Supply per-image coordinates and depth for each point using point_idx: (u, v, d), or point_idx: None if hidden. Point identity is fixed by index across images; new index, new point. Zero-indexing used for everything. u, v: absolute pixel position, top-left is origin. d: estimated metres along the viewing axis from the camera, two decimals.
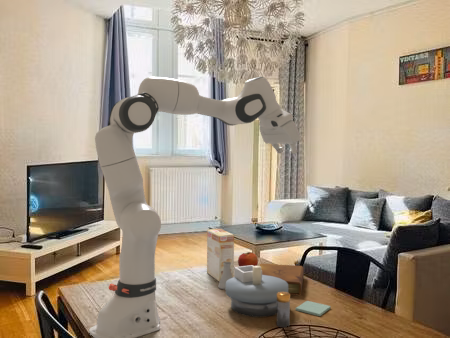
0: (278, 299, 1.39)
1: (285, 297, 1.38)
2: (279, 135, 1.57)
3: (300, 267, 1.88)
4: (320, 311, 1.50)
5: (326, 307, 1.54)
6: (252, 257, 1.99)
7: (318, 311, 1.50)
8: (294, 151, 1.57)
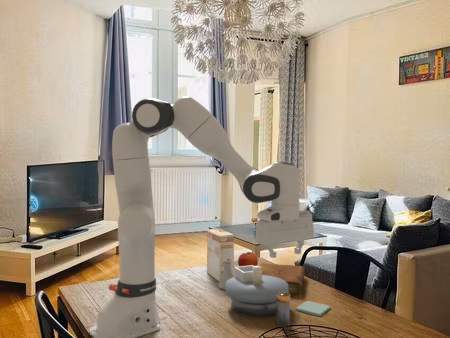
0: (278, 299, 1.39)
1: (285, 297, 1.38)
2: None
3: (300, 267, 1.88)
4: (320, 311, 1.50)
5: (326, 307, 1.54)
6: (252, 257, 1.99)
7: (318, 311, 1.50)
8: (270, 254, 1.38)
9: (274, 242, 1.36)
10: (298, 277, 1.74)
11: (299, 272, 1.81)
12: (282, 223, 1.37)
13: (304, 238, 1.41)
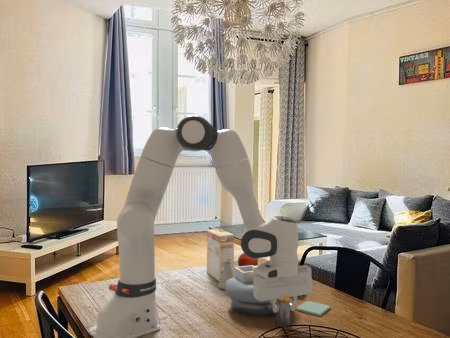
0: (278, 299, 1.39)
1: (285, 297, 1.38)
2: None
3: None
4: (320, 311, 1.50)
5: (326, 307, 1.54)
6: None
7: (318, 311, 1.50)
8: (273, 309, 1.39)
9: (271, 298, 1.37)
10: None
11: None
12: (280, 279, 1.37)
13: (302, 293, 1.41)
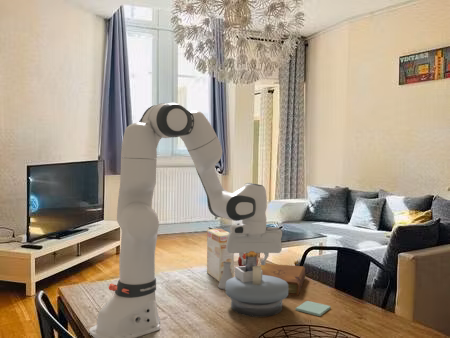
0: (246, 254, 1.61)
1: (251, 252, 1.60)
2: None
3: (301, 267, 1.88)
4: (320, 311, 1.50)
5: (326, 307, 1.54)
6: None
7: (318, 311, 1.50)
8: (242, 262, 1.62)
9: (239, 251, 1.60)
10: (297, 277, 1.74)
11: (299, 272, 1.80)
12: (247, 236, 1.59)
13: (271, 251, 1.61)
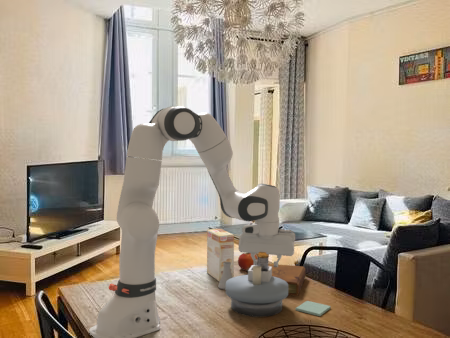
0: (257, 254, 1.61)
1: (260, 253, 1.59)
2: None
3: (301, 268, 1.87)
4: (320, 311, 1.50)
5: (326, 307, 1.54)
6: None
7: (318, 311, 1.50)
8: None
9: (251, 251, 1.60)
10: (297, 277, 1.74)
11: (299, 272, 1.80)
12: (258, 237, 1.59)
13: (282, 254, 1.58)
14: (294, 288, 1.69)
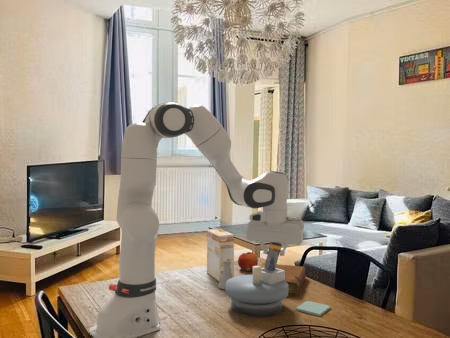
0: None
1: (272, 245, 1.55)
2: None
3: (302, 268, 1.87)
4: (320, 311, 1.50)
5: (326, 307, 1.54)
6: (252, 257, 1.99)
7: (318, 311, 1.50)
8: None
9: (258, 240, 1.58)
10: (297, 277, 1.74)
11: (299, 272, 1.80)
12: (266, 224, 1.56)
13: (290, 242, 1.54)
14: (294, 288, 1.69)
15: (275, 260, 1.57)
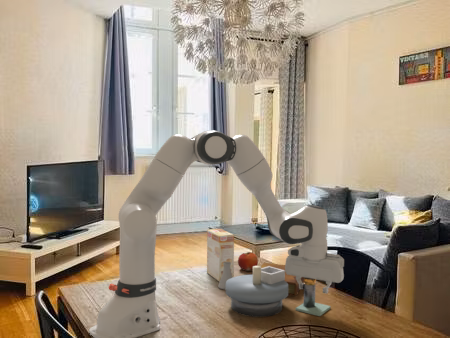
0: None
1: (305, 279, 1.54)
2: None
3: None
4: (320, 311, 1.50)
5: (326, 307, 1.54)
6: (252, 257, 1.99)
7: (318, 311, 1.50)
8: None
9: (297, 275, 1.55)
10: None
11: None
12: (305, 260, 1.53)
13: (329, 280, 1.49)
14: (292, 288, 1.69)
15: (312, 295, 1.53)
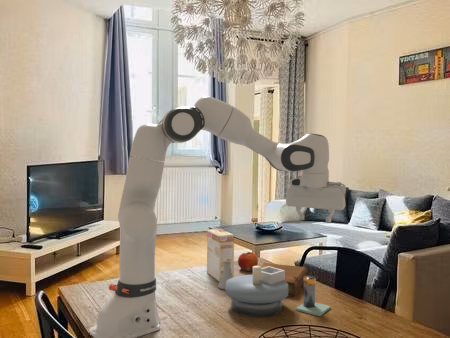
0: None
1: (305, 279, 1.54)
2: None
3: (302, 268, 1.87)
4: (320, 311, 1.50)
5: (326, 307, 1.54)
6: (252, 257, 1.99)
7: (318, 311, 1.50)
8: None
9: (298, 205, 1.53)
10: (295, 278, 1.73)
11: (299, 273, 1.80)
12: (306, 189, 1.51)
13: (331, 208, 1.48)
14: (292, 288, 1.69)
15: (312, 295, 1.53)
